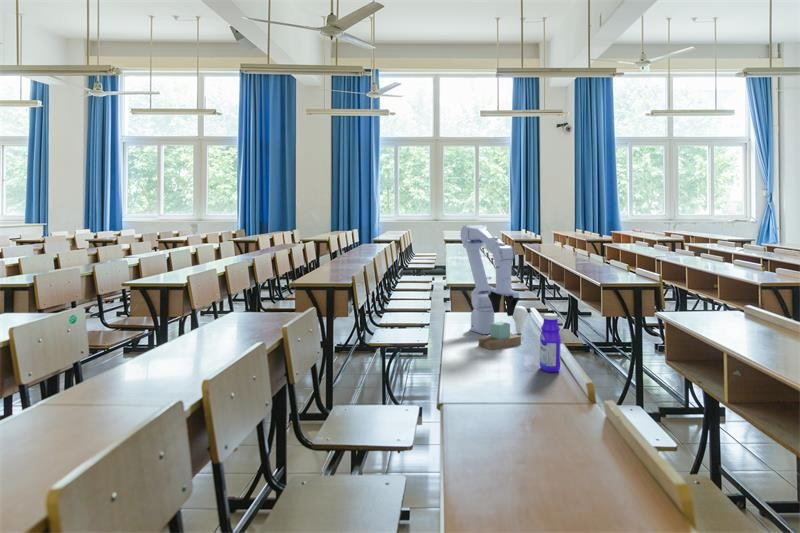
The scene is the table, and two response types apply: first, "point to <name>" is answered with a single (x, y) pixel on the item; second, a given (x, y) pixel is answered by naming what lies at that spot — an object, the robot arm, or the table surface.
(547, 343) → the bottle
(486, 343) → the pencil box
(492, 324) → the teal cube
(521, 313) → the lightbulb
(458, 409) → the table surface
